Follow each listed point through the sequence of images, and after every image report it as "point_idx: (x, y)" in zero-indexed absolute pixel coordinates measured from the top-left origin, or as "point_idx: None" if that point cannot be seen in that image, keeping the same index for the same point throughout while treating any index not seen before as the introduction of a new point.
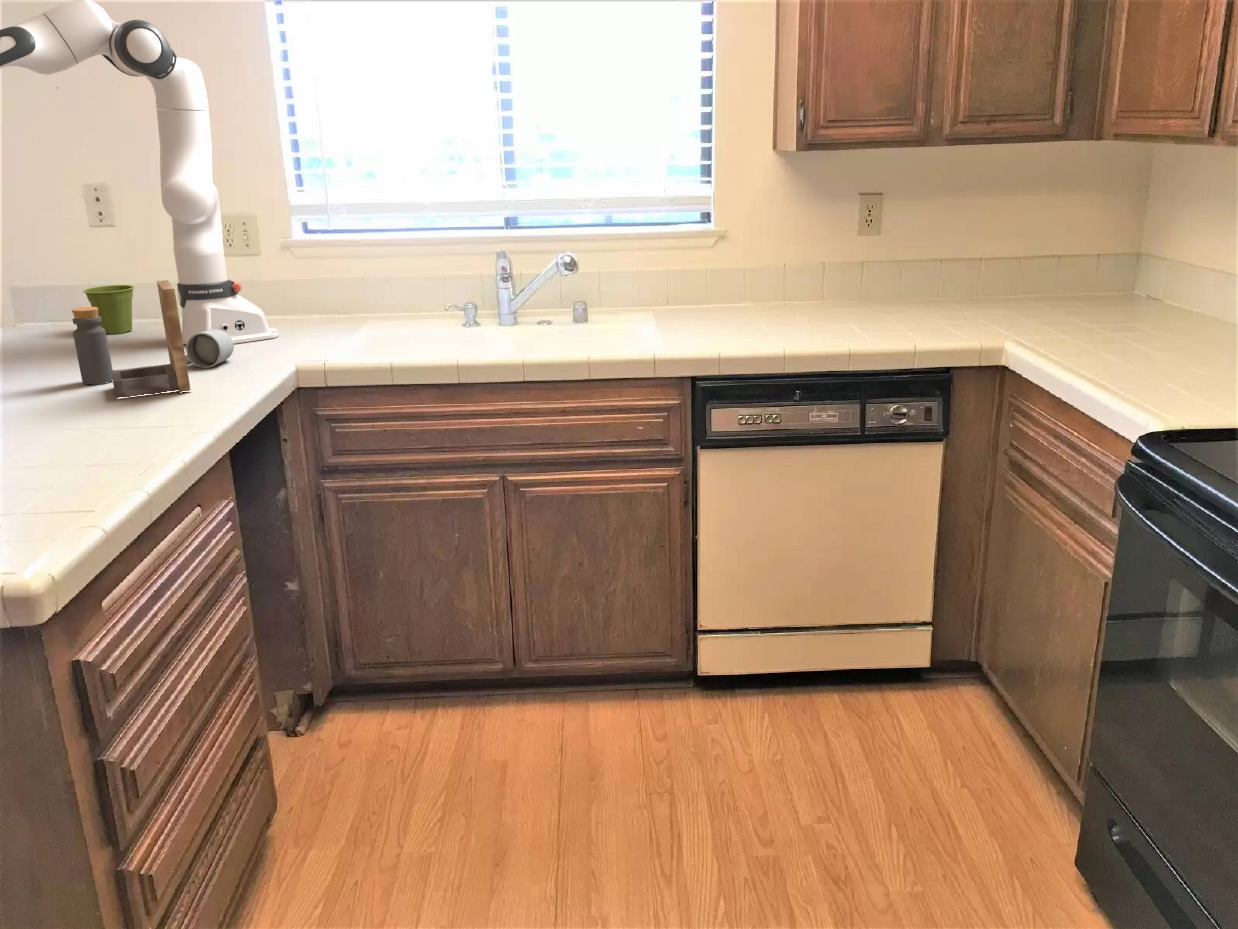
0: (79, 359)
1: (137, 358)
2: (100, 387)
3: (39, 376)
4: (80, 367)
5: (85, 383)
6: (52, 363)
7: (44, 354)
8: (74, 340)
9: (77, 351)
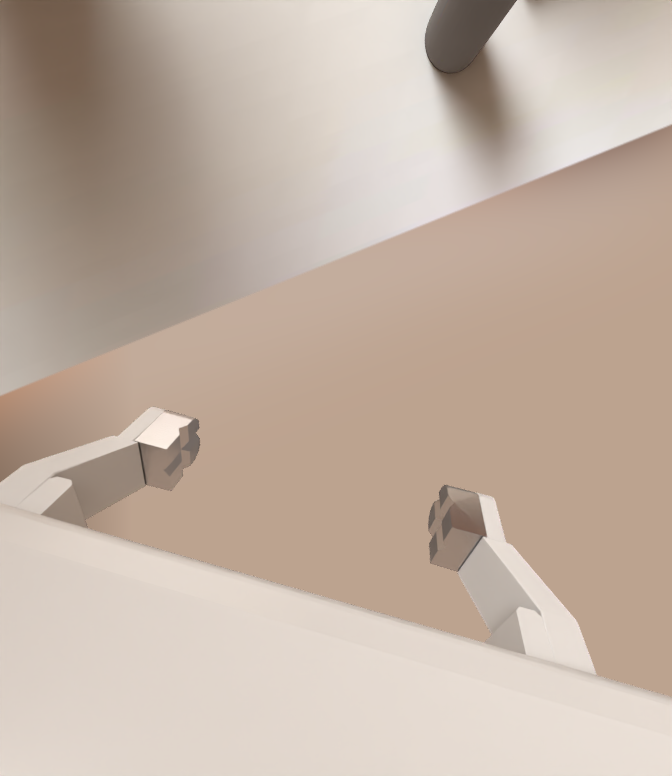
0: (494, 30)
1: (226, 14)
2: None
3: (364, 195)
4: (482, 45)
5: (473, 59)
6: (246, 213)
7: (151, 266)
8: (508, 6)
9: (501, 19)
